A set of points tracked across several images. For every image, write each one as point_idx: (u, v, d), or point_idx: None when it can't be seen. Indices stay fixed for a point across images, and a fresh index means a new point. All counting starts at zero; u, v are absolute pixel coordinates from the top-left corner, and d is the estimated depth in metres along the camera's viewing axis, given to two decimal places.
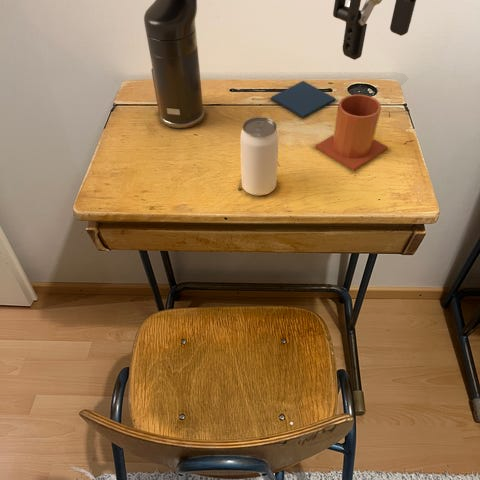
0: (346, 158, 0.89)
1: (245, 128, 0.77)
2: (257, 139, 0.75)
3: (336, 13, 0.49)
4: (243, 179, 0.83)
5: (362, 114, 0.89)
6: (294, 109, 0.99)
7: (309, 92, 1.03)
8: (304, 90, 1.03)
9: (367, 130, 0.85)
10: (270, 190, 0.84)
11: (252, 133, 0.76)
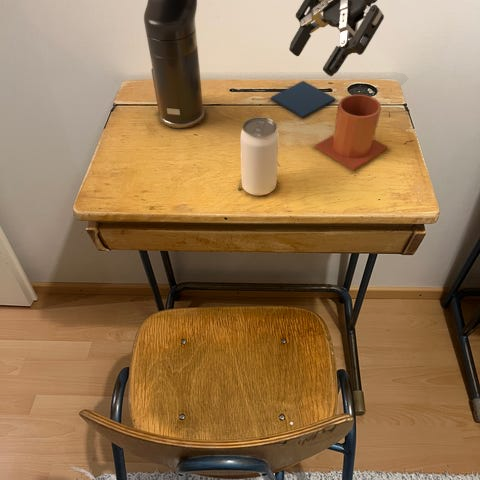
0: (346, 158, 0.89)
1: (245, 128, 0.77)
2: (257, 139, 0.75)
3: (358, 45, 0.68)
4: (243, 179, 0.83)
5: (362, 114, 0.89)
6: (294, 109, 0.99)
7: (309, 92, 1.03)
8: (304, 90, 1.03)
9: (367, 130, 0.85)
10: (270, 190, 0.84)
11: (252, 133, 0.76)
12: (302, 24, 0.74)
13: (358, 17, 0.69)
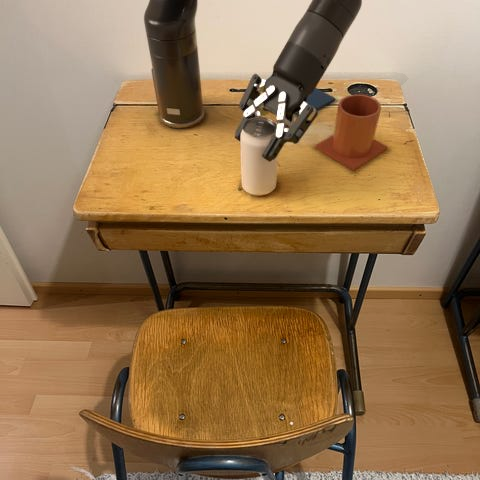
0: (346, 158, 0.89)
1: (245, 128, 0.77)
2: (257, 139, 0.75)
3: (292, 137, 0.74)
4: (243, 179, 0.83)
5: (362, 114, 0.89)
6: None
7: None
8: None
9: (367, 130, 0.85)
10: (270, 190, 0.84)
11: (252, 133, 0.76)
12: (245, 115, 0.78)
13: (295, 110, 0.75)
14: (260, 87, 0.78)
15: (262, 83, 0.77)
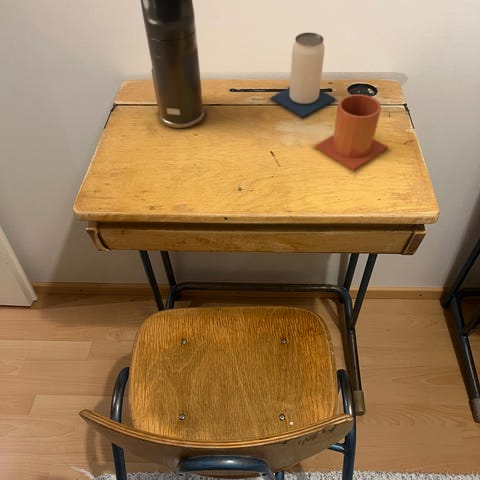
0: (346, 158, 0.89)
1: (297, 40, 0.92)
2: (308, 49, 0.91)
3: None
4: (292, 89, 0.99)
5: (362, 114, 0.89)
6: (294, 109, 0.99)
7: None
8: None
9: (367, 130, 0.85)
10: (314, 99, 1.00)
11: (303, 44, 0.91)
12: None
13: None
14: None
15: None
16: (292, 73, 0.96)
